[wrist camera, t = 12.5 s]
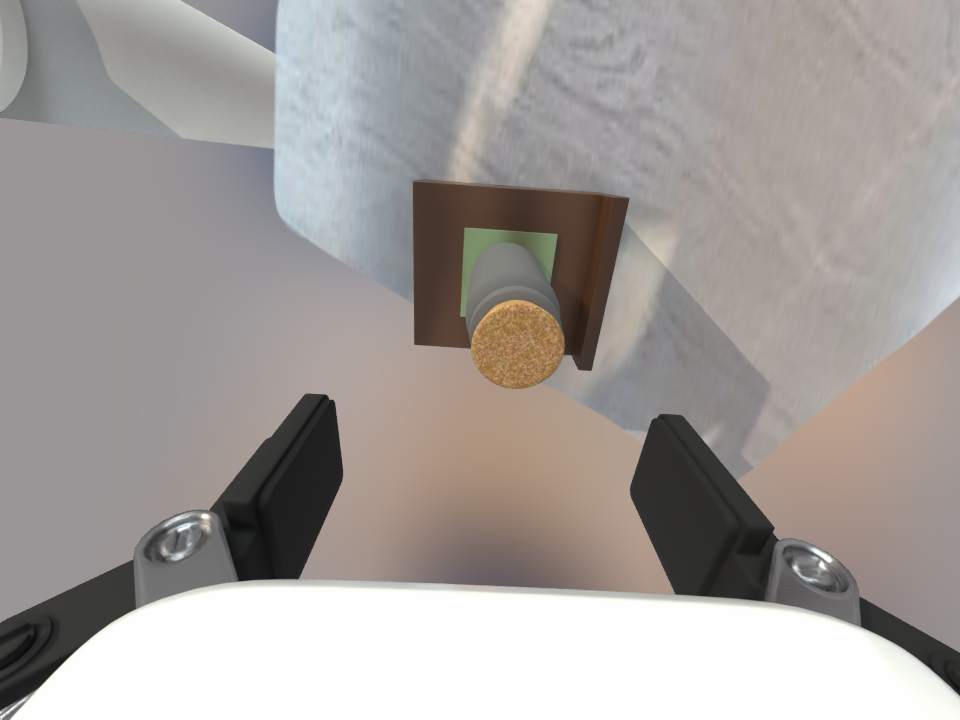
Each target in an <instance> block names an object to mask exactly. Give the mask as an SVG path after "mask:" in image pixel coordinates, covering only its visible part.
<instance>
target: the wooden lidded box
mask: <svg viewBox="0 0 960 720" xmlns="http://www.w3.org/2000/svg"><path fill="white" fill-rule="evenodd" d="M628 202H629V198H627V197H621V196H616V195H610V194H604V193H598V192H584V191H571V190H557V189H543V188H530V187H516V186H503V185H489V184H476V183H462V182H449V181H435V180H415V181H413V250H414V343H415V345H425V346H440V347H441V346H442V347H455V348H470V349H471V344H470V338H469V333H468V330H467V326H466V316H465V313H466V303H467V297H468V290H469V284H470V278H471V273H472V269H473V266H474V263H475V261H476V259H477V258H478V256H479V255H480V254H481V253H482V252H483V251H484V250H485V249H487V248H488V247H490V246H492V245H495V244H498V243H514V244H518V245H520V246H522V247H524V248H525V249H527V250H528V251H529V252H530V253H531V254H532V255H533V256H534V258H535V259H536V261H537V262H538V264H539V266H540V268H541V269H542V271H543V273H544V274H545V276H546V278H547V280H548V281H549V283H550V285H551V287H552V289H553V291H554V293H555V295H556V297H557V300H558V303H559V307H560V320H561V325H562V332H563V335H564V341H565V349H564V354H563V355H572V358H573V360H574V362H575V364H576V366H577V368H578V370H585V371H591V370H592V366H593V361H594V357H595V352H596V348H597V343H598V339H599V334H600V330H601V325H602V321H603V316H604V311H605V307H606V302H607V298H608V293H609V289H610V284H611V280H612V275H613V271H614V266H615V261H616V257H617V252H618V248H619V243H620V239H621V234H622V230H623V225H624V221H625V216H626V211H627V207H628Z"/></svg>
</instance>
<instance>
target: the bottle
mask: <svg viewBox="0 0 960 720" xmlns="http://www.w3.org/2000/svg"><path fill="white" fill-rule="evenodd" d="M465 316H466V326H467V330H468V333H469V338H470V344H471V351H472V356H473V360H474V363H475V365H476V366H477V368H478V370H479V371H480V372H481V374H482V375H483V376H484V377H485V378H487V379H488V380H490V381H491V382H492V383H494V384H496V385H499V386H502V387H505V388H513V389H521V388H527V387H531V386H534V385H536V384H539V383H541V382H542V381H544V380H545V379H547V378H548V377H549V376H551V375H552V374H553V372H554V371H555V370H556V369H557V367H558V366H559V364H560V362H561V360H562V357H563V354H564V349H565V341H564V335H563V332H562V325H561V320H560V307H559V303H558V300H557V297H556V295H555V293H554V291H553V289H552V287H551V285H550V283H549V281H548V280H547V278H546V276H545V274H544V273H543V271H542V269H541V268H540V266H539V264H538V262H537V261H536V259H535V258H534V256H533V255H532V254H531V253H530V252H529V251H528V250H527V249H525V248H524V247H522V246H520V245H518V244H514V243H498V244H495V245H492V246H490V247H488V248H487V249H485V250H484V251H483V252H482V253H481V254H480V255H479V256H478V258H477V259H476V261H475V263H474V266H473V269H472V273H471V278H470V284H469V290H468V297H467V303H466V313H465Z"/></svg>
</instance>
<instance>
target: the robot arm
mask: <svg viewBox="0 0 960 720" xmlns="http://www.w3.org/2000/svg"><path fill="white" fill-rule="evenodd" d="M342 466H343V465H342V457H341V449H340V441H339V432H338V423H337V416H336V407H335V402H334V400H329V398H328V396H327V395H324V394H323V395H322V394H305V395H304V396H303V397H302V399H301V400H300V401H299V402H298V404H297V405H296V406H295V407H294V409H293V410H292V411H291V413H290V414H289V415H288V416H287V418H286V419H285V420H284V421H283V423H282V424H281V425H280V426H279V428H278V429H277V430H276V432H275V433H274V434H273V435H272V437H270V438H268V439H266V440H265V441H264V442H263V444H262V445H261V446H260V447H259V448H258V450H257V451H256V452H255V454H254V455H253V456H252V457H251V458H250V460H249V461H248V462H247V463H246V465H245V466H244V467H243V469H242V470H241V471H240V472H239V473H238V475H237V476H236V477H235V478H234V480H233V481H232V482H231V483H230V485H229V486H228V487H227V489H226V490H225V491H224V492H223V493H222V495H221V496H220V497H219V499H218V500H217V501H216V502H215V504H214V505H213V506H212V507H211V509H210V510H209V511H208V510H191V511H186V512H183V513H179V514H176V515H174V516H172V517H170V518H168V519H165V520H163V521H162V522H160V523H159V524H157V525H156V526H155V527H153V528H151V529H150V530H149V531H148V532H147V533H146V534H145V535H144V536H143V537H142V538H141V540H140V541H139V543H138V544H137V546H136V547H135V551H134V556H133V558H134V559H133V560H131V561H129V562H127V563H125V564H123V565H121V566H118V567H116V568H114V569H112V570H110V571H108V572H106V573H104V574H102V575H99V576H97V577H95V578H93V579H91V580H89V581H87V582H85V583H82V584H80V585H78V586H76V587H74V588H72V589H70V590H68V591H65V592H63V593H61V594H59V595H57V596H55V597H53V598H51V599H49V600H46V601H44V602H42V603H40V604H38V605H36V606H34V607H32V608H30V609H27V610H25V611H23V612H21V613H19V614H17V615H15V616H12V617H10V618H8V619H6V620H5V621H3V622H1V623H0V720H960V653H959V652H957V651H956V650H954V649H952V648H950V647H949V646H947V645H945V644H943V643H941V642H940V641H938V640H936V639H934V638H932V637H931V636H929V635H927V634H925V633H924V632H922V631H920V630H918V629H916V628H915V627H913V626H911V625H909V624H908V623H906V622H904V621H902V620H900V619H899V618H897V617H895V616H893V615H891V614H890V613H888V612H886V611H884V610H882V609H881V608H879V607H877V606H875V605H874V604H872V603H870V602H868V601H867V600H865V599H863V598H861V597H859V590H858V587H857V583H856V581H855V579H854V578H853V576H852V575H851V573H850V572H849V570H848V569H846V567H845V566H843V564H842V563H840V562H839V561H838V560H837V559H836V558H834V557H833V556H832V555H830V554H829V553H828V552H826V551H824V550H822V549H821V548H819V547H817V546H815V545H813V544H810V543H808V542H805V541H802V540H798V539H793V538H786V539H781V540H778V539H777V538H776V536H775V535H774V534H773V533H772V532H773V530H774V526H773V525H772V524H771V523H770V521H769V520H768V519H767V518H766V516H765V515H764V514H763V513H762V512H761V510H760V509H759V508H758V507H757V506H756V504H755V503H754V502H753V501H752V500H751V498H750V497H749V496H748V495H747V493H746V492H745V491H744V490H743V489H742V487H741V486H740V485H739V484H738V483H737V481H736V480H735V479H734V478H733V476H732V475H731V474H730V473H729V471H728V470H727V469H726V468H725V467H724V465H723V464H722V463H721V462H720V460H719V459H718V458H717V457H716V456H715V454H714V453H713V452H712V451H711V450H710V448H709V447H708V446H707V445H706V443H705V442H704V441H703V440H702V439H701V437H700V436H699V435H698V434H697V432H696V431H695V430H694V429H693V428H692V426H691V425H690V424H689V423H688V422H687V420H686V419H685V418H684V417H683V416H682V415H671V414H660V415H659V416H658V417H657V419H656V418H655V419H653V420H652V422H651V424H650V427H649V430H648V433H647V437H646V440H645V443H644V446H643V449H642V452H641V455H640V458H639V461H638V464H637V467H636V471H635V474H634V477H633V480H632V483H631V487H630V494H631V498H632V500H633V503H634V505H635V507H636V509H637V511H638V513H639V516H640V518H641V520H642V522H643V525H644V527H645V529H646V531H647V533H648V535H649V538H650V540H651V542H652V544H653V546H654V548H655V551H656V553H657V555H658V557H659V559H660V561H661V563H662V566H663V568H664V570H665V572H666V575H667V576H668V579H669V581H670V583H671V585H672V587H673V590H674V592H675V594H676V595H674V594H654V593H634V592H614V591H593V590H573V589H551V588H527V587H506V586H483V585H460V584H459V585H458V584H434V583H408V582H382V581H353V580H307V579H304V580H303V579H299V577H300V575H301V573H302V571H303V568H304V566H305V564H306V562H307V559H308V557H309V555H310V553H311V550H312V548H313V546H314V543H315V541H316V539H317V536H318V535H319V532H320V530H321V528H322V525H323V523H324V521H325V519H326V517H327V514H328V512H329V510H330V507H331V505H332V503H333V501H334V499H335V496H336V494H337V492H338V490H339V487H340V485H341V482H342V479H343V467H342Z"/></svg>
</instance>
